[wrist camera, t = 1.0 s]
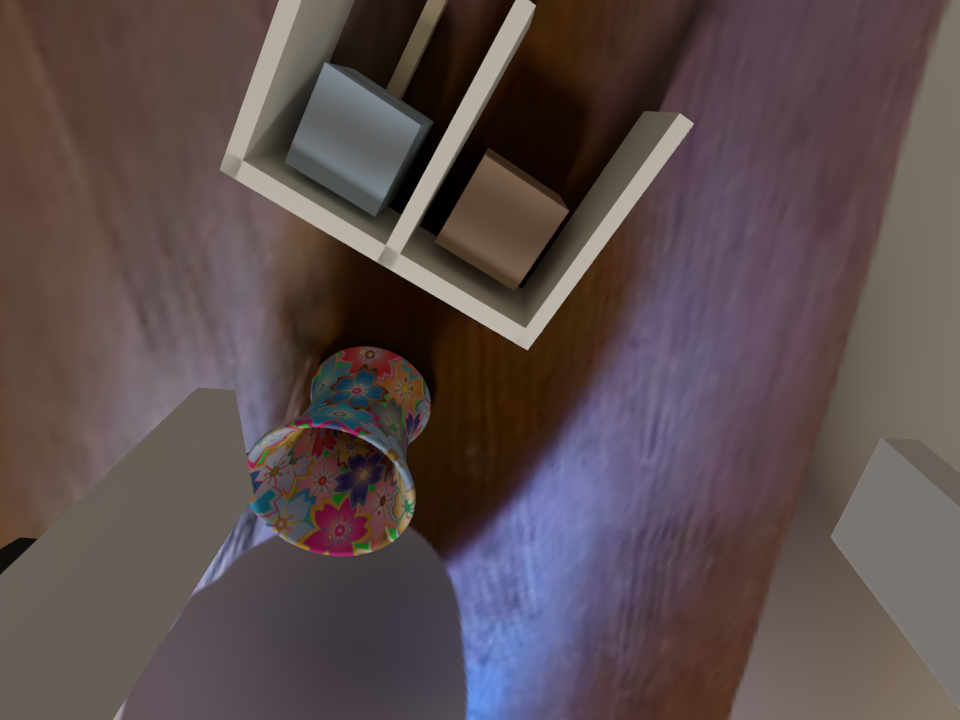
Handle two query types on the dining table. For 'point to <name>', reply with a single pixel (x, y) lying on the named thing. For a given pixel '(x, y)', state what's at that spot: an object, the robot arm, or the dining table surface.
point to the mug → (344, 456)
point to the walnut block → (502, 220)
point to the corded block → (365, 127)
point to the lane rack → (429, 174)
